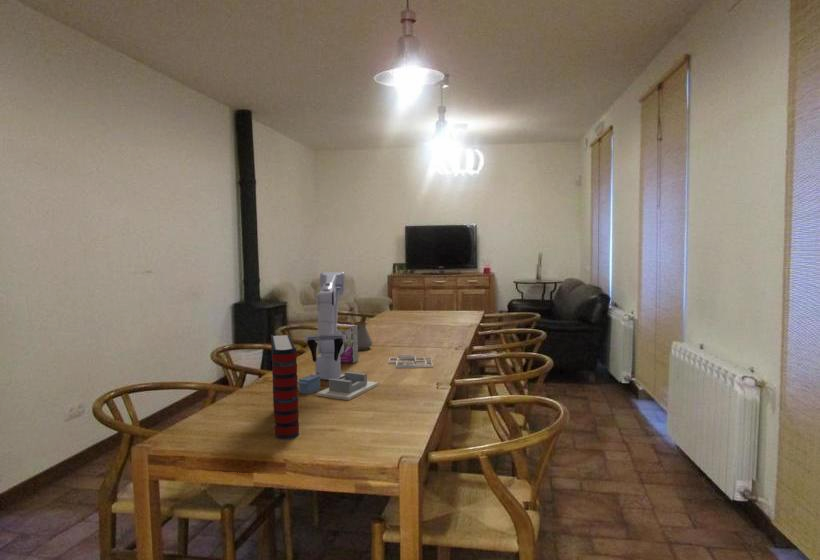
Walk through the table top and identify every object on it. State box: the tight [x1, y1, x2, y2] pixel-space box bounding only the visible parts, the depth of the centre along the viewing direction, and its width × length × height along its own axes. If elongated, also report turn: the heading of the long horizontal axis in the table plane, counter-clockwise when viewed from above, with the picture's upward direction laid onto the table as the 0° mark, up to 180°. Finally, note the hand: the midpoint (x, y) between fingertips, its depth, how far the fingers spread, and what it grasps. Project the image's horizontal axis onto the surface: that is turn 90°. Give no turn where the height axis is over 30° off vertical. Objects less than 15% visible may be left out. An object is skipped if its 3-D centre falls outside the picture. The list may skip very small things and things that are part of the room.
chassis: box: [316, 371, 379, 401], centre depth 191 cm, size 13×20×5 cm, turn 154°
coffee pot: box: [352, 321, 373, 351], centre depth 257 cm, size 21×12×15 cm, turn 178°
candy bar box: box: [337, 323, 359, 364], centre depth 234 cm, size 11×5×16 cm, turn 65°
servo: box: [297, 373, 322, 395], centre depth 191 cm, size 4×10×6 cm, turn 154°
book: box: [270, 333, 300, 440], centre depth 156 cm, size 25×7×25 cm, turn 16°
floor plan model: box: [388, 354, 434, 369], centre depth 231 cm, size 19×25×2 cm
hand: (325, 360), depth 188 cm, fingers open, 7 cm apart
